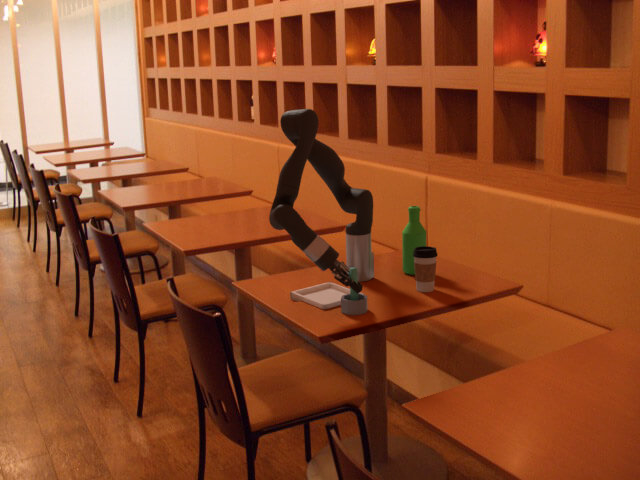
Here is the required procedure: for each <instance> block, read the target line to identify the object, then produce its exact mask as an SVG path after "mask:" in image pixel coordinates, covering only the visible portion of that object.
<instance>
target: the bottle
mask: <svg viewBox="0 0 640 480" xmlns="http://www.w3.org/2000/svg"><path fill="white" fill-rule="evenodd" d="M421 211H422V209H421V207H420V206H418V205H410V206H409V207H408V209H407V212H408V222H407V224H406V226H405V227H404V228H403V230H402V232H401V233H402V234H401V236H402V237H401V238H402V243H401V244H402V245H401V246H402V271H403V273H405V274H406V275H410V276H415V267H414V256H413V252H414V248H416V247H421V246H427V230H426V229H425V226H423V224H422V222H421V220H420V217H421V215H420V212H421Z"/></svg>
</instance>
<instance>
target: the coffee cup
mask: <svg viewBox="0 0 640 480" xmlns="http://www.w3.org/2000/svg"><path fill="white" fill-rule="evenodd" d="M413 256H414V267H415V275H414V278H415V283H416V284H415V286H416V291H418V292H419V293H430V292H434V290H435V280H436V270H437V262H438V261H437V257H438V251H437V247H433V246H428V245H426V246H421V247H416V248H414V252H413Z"/></svg>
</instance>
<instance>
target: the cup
mask: <svg viewBox="0 0 640 480" xmlns="http://www.w3.org/2000/svg"><path fill="white" fill-rule="evenodd" d="M361 293H362V292H360V293H358V300H350V294H346V295H342V297H341V305H340V309H341V310H340V311H341V312H340V313H342V314H344V315H347V316H361V315H365V314H366V313H367V312H368V309H369V307H368V295H366V294H365V293H363V294H361ZM364 294H365V295H364Z"/></svg>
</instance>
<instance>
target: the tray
mask: <svg viewBox="0 0 640 480" xmlns="http://www.w3.org/2000/svg"><path fill="white" fill-rule="evenodd" d="M360 293H361V294H364V295H366V294H365V293H362V292H360ZM346 294H350V287H349V288H348V287H346V286H342V285H339V284H338V283H334V282H332V281H329V282H323V283H320V284H316V285H312V286H308V287H304V288H300V289H296V290H292V291H289V295H290V296H289V297H290V298H289V299H290V300H292V301H295V302H297V303H299V302H303V303H306V304H308V305H311V306H314V307H315V308H319V309H322V311H323V310H324V311H325V310H328V309H331V308H335V307H338V306H341V297H342V295H346Z"/></svg>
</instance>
